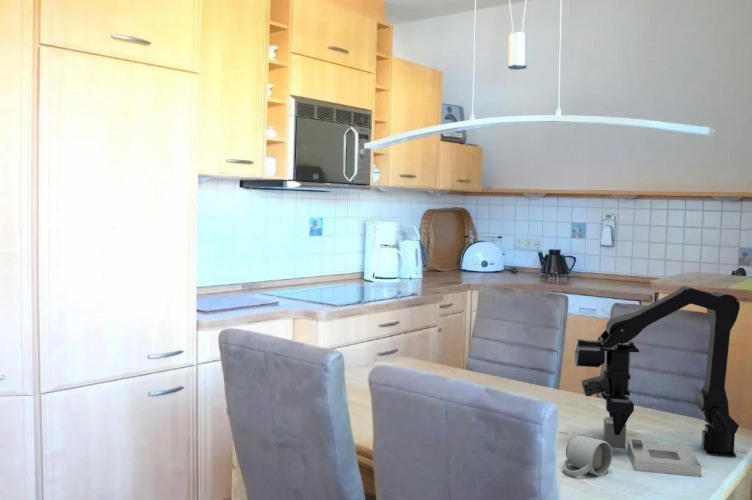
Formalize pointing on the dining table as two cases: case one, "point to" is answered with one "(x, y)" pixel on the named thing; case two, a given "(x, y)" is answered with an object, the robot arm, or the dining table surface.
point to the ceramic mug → (587, 456)
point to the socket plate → (663, 458)
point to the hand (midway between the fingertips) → (614, 429)
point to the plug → (609, 435)
